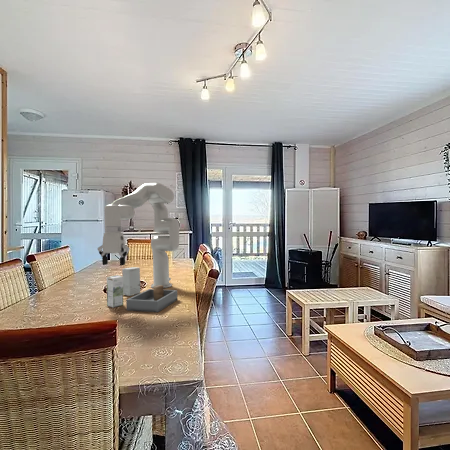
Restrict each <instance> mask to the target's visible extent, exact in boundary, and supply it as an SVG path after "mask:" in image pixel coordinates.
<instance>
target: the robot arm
mask: <svg viewBox="0 0 450 450" xmlns="http://www.w3.org/2000/svg"><path fill="white" fill-rule="evenodd" d="M174 199H175V194H174V191H173V190H172V189H171V188H170V187H167V186H166V185H164V184H162V183H159V182H149V183H148V182H147V183H143V184H142V185H140V186H139V187H137V189H135V190H134V191H133V192H132V193H130V194H127V195H125V196H122V197H120V198H118V199H116V200H114V201H113V202H112V203H111V204H107V205H105V206H104V233H103V236H102V245H100V246H98V247H96V248H97V251H98V253H99V254H98V255H100V257H101V261H102V266H105V265H106V266H107V265H108V264H109V262H108V259H109V257H108V256H107V255H108V254H118V255H119V256H120V257H119V266H125V264H126V257H127V255H128V254H129V252H130V250H131V249H130V247H129V246H127V245H126V244H125V243H126V242H125V237H124V233H123V232H122V231H123V230H124V228H123V227H122V221H125V220H131V219H133V218H134V216H135V213H136V212H135V209H137V208H140V207H142V206H144V205H145V203H146V202H149V204H150V205H151V207H152V209H153V231H154V232H155V233H157V234H169V235H155V236H153V237H152V238H151V241H150V247H151V251H152V265H153V266H152V267H153V268H152V269H153V270H152V272H153V275H152V277H153V278H152V279H153V283H152V284H151V285H150V287H151V289H153V286H157V285H163V288H164V289H165V288H166V289H167V288H170V287H172V283H171V282H170V281H171V279H172V278H171V277H170V265H169V255H168V253H167V252H176V251H177V250H178V249H179V248H180V247H179V246H180V221H179V220H178V219H177V218H174V217H169V211H168V207H167V206H166V204H170V203H172V202H173V201H174Z"/></svg>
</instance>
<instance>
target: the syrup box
mask: <svg viewBox="0 0 450 450" xmlns="http://www.w3.org/2000/svg"><path fill="white" fill-rule="evenodd" d="M106 306H107V307H109V308H114V309H115V308H116V307H121V306H124V295H123V275H118V274H117V275H110V276H106Z"/></svg>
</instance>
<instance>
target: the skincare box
mask: <svg viewBox="0 0 450 450" xmlns="http://www.w3.org/2000/svg"><path fill="white" fill-rule="evenodd" d="M121 270H122V275H121V276H122V277H123V296H127V297H131V296H135V295H138V294H140V293H141V267H135V266H134V267H126V268H122V269H121Z"/></svg>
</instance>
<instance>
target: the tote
mask: <svg viewBox="0 0 450 450" xmlns="http://www.w3.org/2000/svg"><path fill="white" fill-rule="evenodd" d="M176 301H178V290H177V289H176V290H175V289H164V297H162V298H161V299H159V300H157V301H154V290H153V288H149V289H147V290H145V291H142V292H140V293H138V294H135V295H132V297H131V296H130V297H128V298H127V299H126V301H125V302H126V311H129V312H130V311H131V312H144V313H145V312H146V313H159V312H161V311H162V310H164V309H165V308H167V307H168V306H170V305H172V304H174V303H175V302H176Z"/></svg>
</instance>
